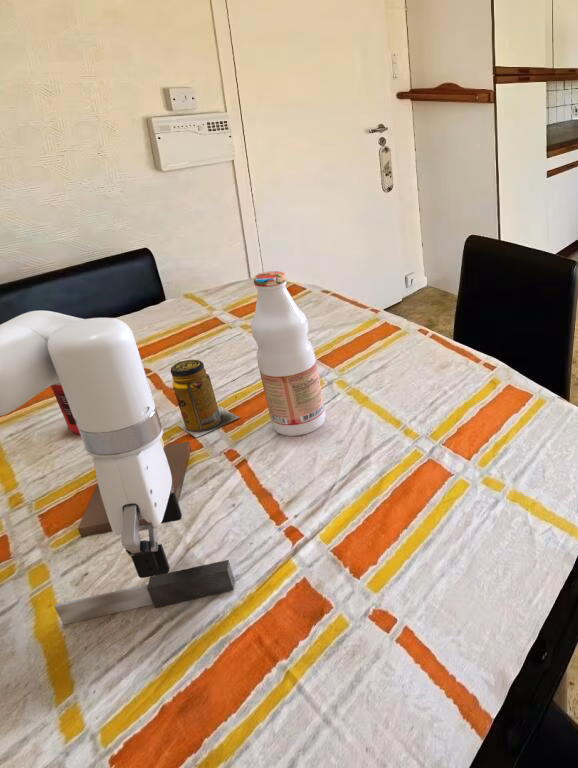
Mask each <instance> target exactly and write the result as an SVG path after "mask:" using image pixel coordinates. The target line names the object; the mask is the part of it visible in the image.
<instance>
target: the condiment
mask: <svg viewBox="0 0 578 768" xmlns="http://www.w3.org/2000/svg"><path fill="white" fill-rule="evenodd" d="M170 375H171V376H172V380H173V381H172V384H171V385H172V389H173V393H174V395H175V398H176V402H177V405H178V408H179V411H180V415H181V418H182V420H183V421H182V422H179V423H176V426H178V428H180V429H182V430H183V431H184V432H186V433H188V434H189V435H191V436H193V437H194V438H198V437H201V436H203V435H205V434H206V435H207V434H208V433H210V432H212V431H214V430H217V429H218V428H221V427H222V426H225V425H227V424H229V423H231V422H234V421H235V420H237V419H240V418H241V417H240V416H239V415H236V414H234V413H233V412H231V411H229V410H228V409H227V408H224V407H223V406H221V405H218V402H217V399H216V395H215V391H214V389H213V384H212V381H211V377H210V375H209V374H208V373H207V370H206V368H205V365H204V362H202V361H201V360H199V359H186V360H182V361H179V362H176V363H174V364H173V365H172V366H171V367H170Z"/></svg>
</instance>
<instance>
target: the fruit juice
mask: <svg viewBox="0 0 578 768" xmlns="http://www.w3.org/2000/svg"><path fill="white" fill-rule="evenodd" d="M253 285H254V287H255V289H256V290H257V295H256V303H255V308H254V314H253V316H252V319H251V321H250V332H251V335H252V338H253V340H254V342H255V343H256V345H257V350H256V360H257V361H256V362H257V367H258V372H259V375H260V379H261V383H262V387H263V391H264V396H265V401H266V405H267V409H268V414H269V418H270V421H271V426H272V428H273V429H274V431H275V432H276V433H277V434H279V435H283V436H289V437H296V436H303V435H307V434H309V433H312V432H314V431H316V430H318V429H319V428H321V427H322V425H324V423H325V421H326V409H325V403H324V398H323V392H322V387H321V386H322V385H321V381H320V376H319V370H318V365H317V358H316V355H315V350H314V346H313V345H312V343H311V341H310V340H309V337H308V336H309V322H308V318H307V316H306V314H305V313H304V312H303V311H302V310H301V308H299V307H298V305H297V303H296V302H295V300H294V299H293V297H292V295H291V294H290V292H289V290H288V289H287V286H286V285H287V277H286V274H285V273H284V272H283V271H278V270H277V271H276V270H275V271H274V270H273V271H272V270H271V271H264V272H261V273H257V274H256V275H254V277H253Z"/></svg>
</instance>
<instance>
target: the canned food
mask: <svg viewBox="0 0 578 768" xmlns="http://www.w3.org/2000/svg"><path fill="white" fill-rule="evenodd" d="M50 388H51V390H52V392H53V395H54V398H55V399H56V402H57V404H58V406H59V409H60V411H61V414H62V416H63V419H64V420H65V423H66V426H67V428H68V429H69V431H70V432H71V433H73V434H74V435H78V436H81V435H80V432H79V430H78V427H77V425H76V422H75V420H74V417H73V414H72V412H71V409H70V407H69V404H68V401H67V399H66V396H65V394H64V391H63V388H62V386H61V383H60V382H58V383H56V384H54V385H52V386H50Z"/></svg>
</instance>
